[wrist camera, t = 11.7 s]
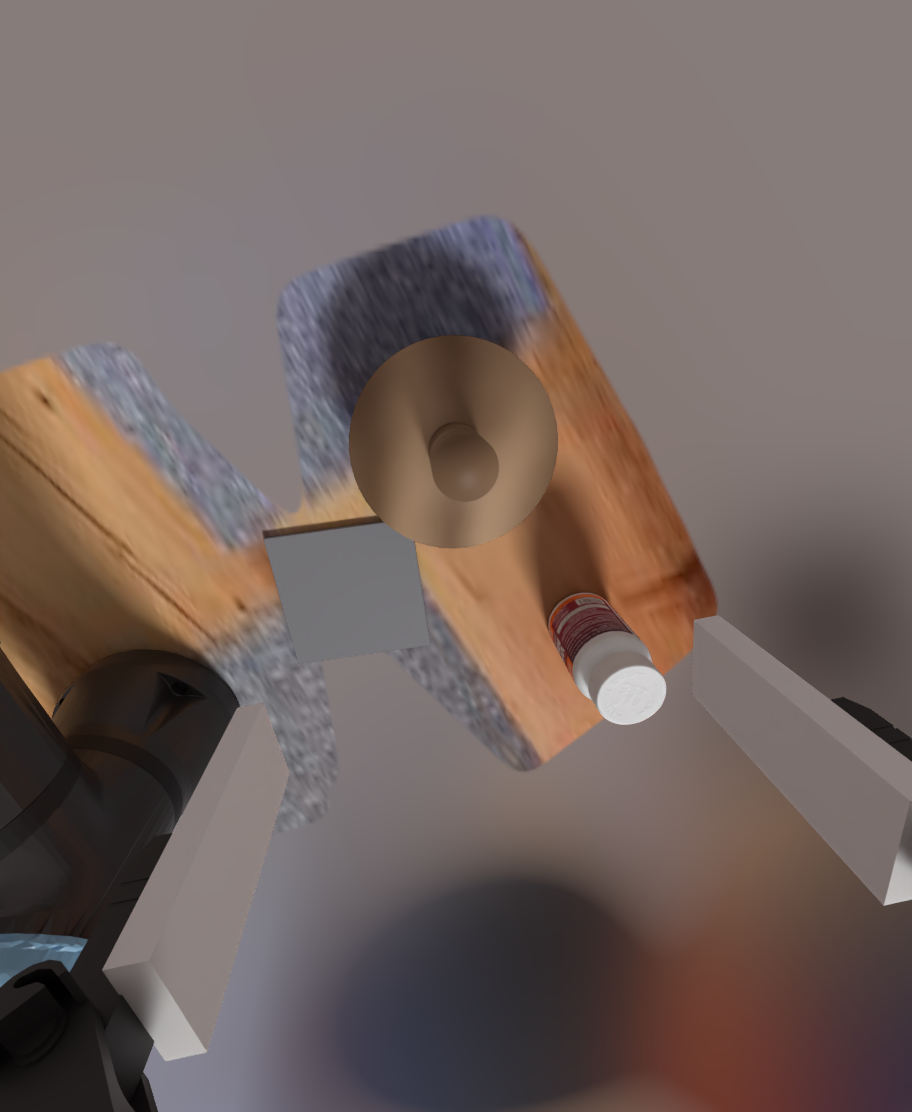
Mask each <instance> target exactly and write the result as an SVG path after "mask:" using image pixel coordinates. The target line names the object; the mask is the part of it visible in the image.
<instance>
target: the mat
mask: <svg viewBox="0 0 912 1112" xmlns="http://www.w3.org/2000/svg"><path fill="white" fill-rule="evenodd" d="M264 542H265V546H266V549H267V553H268V557H269V560H270V564H271V567H272V571H273V574H274V578H275V582H276V585H277V589H278V592H279V596H280V600H281V603H282V607H283V610H284V614H285V617H286V621H287V625H288V628H289V632H290V635H291V639H292V642H293V646H294V650H295V653H296V657H297V660H298V664H303V663H310V662H317V661H324V660H330V659H337V658H344V657H351V656H358V655H365V654H372V653H379V652H385V651H392V650H399V649H406V648H413V647H420V646H427V645H430V637H429V630H428V624H427V618H426V611H425V605H424V599H423V592H422V586H421V580H420V573H419V567H418V561H417V554H416V548H415V542H414V541H413V540H411V539H409V538H407V537H405V536H403V535H401V534H400V533H398V532H396V531H395V530H393V529H392V528H391V527H389V526H388V525H387V524H386V523H384V522H383V521H381V522H374V523H367V524H359V525H352V526H345V527H337V528H330V529H323V530H315V531H308V532H301V533H293V534H286V535H279V536H271V537H265V538H264Z"/></svg>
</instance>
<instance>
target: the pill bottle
mask: <svg viewBox="0 0 912 1112" xmlns="http://www.w3.org/2000/svg"><path fill="white" fill-rule="evenodd" d="M548 627H549V633H550V636H551V638H552V640H553V643H554V644H555V646H556V648H557V650H558V652H559V654H560V656H561V658H562V660H563V661H564V663H565V665H566V667H567V669H568V671H569V673H570V674H571V676H572V678H573V680H574V682H575V684H576V685H577V687H578V688H579V690H580V691H581V692H582V693H583V694H584V695H585V696H586V697H588V698H589V699H591V700H592V701H593V702H594V704H595V705H596V707H597V709H598V710H599V712H600V713H601V715H602V716H603V717H604V718H606V719H607V720H609V721H610V722H613V723H617V724H624V725H627V724H634V723H638V722H641V721H643V720H645V719H647V718H648V717H650V716H651V715H653V714H654V713H655V712H656V711H657V710H658V709H659V708H660V707H661V705H662V703H663V701H664V699H665V695H666V683H665V680H664V678H663V676H662V675H661V673H660V672H659V671H658V670H657V668H656V667H655V666H654V664H653V663H652V660H651V655H650V653H649V651H648V649H647V647H646V646H645V644H644V643H643V642H642V641H641V640H640V639H639V637H638V636H637V635H636V634H635V633H634V632H633V631H632V629H631V628H630V627H629V626H628V625H627V624H626V623H625V622H624V620H623V619H622V618H621V617H620V616H619V615H618V613H617V612H616V611H615V610H614V609H613V608H612V606H611V605H610V604H609V603H608V602H607V601H606V600H605V599H603V598H602V597H600V596H598V595H596V594H593V593H577V594H573V595H571V596H568V597H567V598H565V599H563V600H562V601H561V602H559V603H558V604H557V605H556V607H555V608H554V609H553V611H552V613H551V615H550V618H549V623H548Z"/></svg>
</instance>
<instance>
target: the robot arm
mask: <svg viewBox="0 0 912 1112" xmlns="http://www.w3.org/2000/svg"><path fill="white" fill-rule="evenodd" d="M0 644H1V642H0ZM692 695H693V696H694V697H695V698H696V699H697V700H698V701H699V702H700V703H701V704H702V706H703V707H704V708H705V709H706V710H707V711H708V712H709V713H710V714H711V715H712V716H713V718H714V719H715V720H716V721H717V722H718V723H719V724H720V725H721V726H722V728H723V729H724V730H725V731H726V732H727V733H728V734H729V735H730V736H731V738H732V739H733V740H734V741H735V742H736V743H737V744H738V745H739V746H740V747H741V749H742V750H743V751H744V752H745V753H746V754H747V755H748V756H749V757H750V759H751V760H752V761H753V762H754V763H755V764H756V765H757V766H758V767H759V768H760V769H761V771H762V772H763V773H764V774H765V775H766V776H767V777H768V778H769V779H770V780H771V782H772V783H773V784H774V785H775V786H776V787H777V788H778V789H779V790H780V792H781V793H782V794H783V795H784V796H785V797H786V798H787V799H788V800H789V802H790V803H791V804H792V805H793V806H794V807H795V808H796V809H797V810H798V811H799V813H801V815H802V816H803V817H804V818H805V819H806V820H807V821H808V822H809V824H810V825H811V826H812V827H813V828H814V829H815V830H816V831H817V832H818V833H819V835H820V836H821V837H822V838H823V839H824V840H825V841H826V842H827V843H828V845H829V846H830V847H831V848H832V849H833V850H834V851H835V852H836V853H837V854H838V855H839V857H840V858H841V859H842V860H843V861H844V862H845V863H846V864H847V865H848V866H849V868H850V869H851V870H852V871H853V872H854V873H855V874H856V875H857V876H858V877H859V879H860V880H861V881H862V882H863V883H864V884H865V885H866V886H867V888H868V889H869V890H870V891H871V892H872V893H873V894H874V895H875V896H876V897H877V898H878V900H879V901H880V902H881V903H882V904H883V905H888V904H892V903H897V902H901V901H907V900H911V899H912V739H911V738H910V737H909V736H907V735H906V734H905V733H903V732H902V731H900V730H899V729H898V728H896V729H895V728H894V727H893V725H892V724H891V723H889V722H888V721H886V720H885V719H884V718H882V717H881V716H879V715H878V714H877V713H875V712H874V711H872V710H871V709H869V708H866V707H864V706H862V705H860V704H858V703H855V702H853V701H851V700H848V699H846V698H844V697H842V698H837V699H832V700H829V699H828V698H826V697H825V696H824V695H823V694H821V693H820V692H819V691H818V690H816V689H815V688H813V687H812V686H811V685H810V684H808V683H807V682H806V681H804V680H803V679H802V678H800V677H799V676H798V675H796V674H795V673H794V672H792V671H791V670H790V669H789V668H787V667H786V666H785V665H783V664H782V663H780V662H779V661H778V660H777V659H775V658H774V657H773V656H771V655H770V654H769V653H767V652H766V651H765V650H763V649H762V648H761V647H759V646H758V645H757V644H756V643H754V642H753V641H752V640H750V639H749V638H748V637H746V636H745V635H744V634H742V633H741V632H740V631H738V630H737V629H736V628H734V627H733V626H732V625H730V624H729V623H728V622H726V621H725V620H724V619H722V618H721V617H720V616H713V617H708V618H702V619H697V620H694V643H693V681H692ZM289 774H290V773H289V770H288V768H287V765H286V762H285V760H284V757H283V754H282V752H281V749H280V746H279V744H278V741H277V738H276V736H275V733H274V730H273V727H272V725H271V722H270V719H269V717H268V714H267V711H266V709H265V706H264V703H259V704H254V705H249V706H244V707H239V704H238V702H237V700H236V698H235V697H234V695H233V693H232V692H231V691H230V689H229V688H228V687H227V686H226V684H225V683H224V682H223V681H222V680H221V679H220V678H218V677H217V676H216V675H215V674H214V673H212V672H211V671H210V670H208V669H207V668H205V667H203V666H202V665H200V664H198V663H196V662H194V661H192V660H190V659H187V658H184V657H182V656H178V655H175V654H171V653H167V652H161V651H152V650H135V651H127V652H122V653H118V654H114V655H111V656H108V657H106V658H104V659H102V660H100V661H98V662H96V663H95V664H93V665H92V666H90V667H89V668H88V669H87V670H86V671H85V672H83V673H82V674H81V675H80V676H79V677H78V678H77V679H76V680H75V681H73V682H72V683H71V684H70V685H69V686H68V687H67V689H66V690H65V691H64V693H63V694H62V695H61V697H60V699H59V700H58V702H57V705H56V707H55V709H54V712H53V716H52V719H51V718H50V717H49V715H48V714H47V713H46V711H45V710H44V708H43V707H42V706H41V704H40V703H39V701H38V700H37V699H36V697H35V696H34V695H33V693H32V692H31V690H30V689H29V688H28V686H27V685H26V684H25V682H24V681H23V679H22V678H21V677H20V675H19V674H18V672H17V671H16V669H15V668H14V667H13V665H12V664H11V662H10V661H9V659H8V658H7V656H6V655H5V653H4V652H3V651H2V649H1V648H0V1112H158V1110H157V1107H156V1103H155V1100H154V1096H153V1093H152V1090H151V1086H150V1083H149V1080H148V1078H147V1077H146V1076H145V1074H144V1073H143V1070H144V1068H145V1065H146V1062H147V1060H148V1057H149V1054H150V1052H151V1049H152V1046H153V1044H154V1045H155V1047H156V1048H157V1050H158V1051H159V1053H160V1054H161V1055H162V1057H163V1058H164V1060H165V1061H169V1060H173V1059H178V1058H183V1057H188V1056H192V1055H196V1054H202V1053H206V1052H207V1051H208V1048H209V1044H210V1041H211V1038H212V1034H213V1031H214V1028H215V1024H216V1021H217V1017H218V1014H219V1011H220V1007H221V1004H222V1001H223V997H224V994H225V990H226V987H227V984H228V980H229V977H230V974H231V970H232V967H233V963H234V960H235V956H236V953H237V950H238V947H239V943H240V940H241V936H242V933H243V930H244V926H245V923H246V919H247V916H248V912H249V909H250V906H251V903H252V899H253V896H254V892H255V889H256V885H257V882H258V879H259V875H260V872H261V869H262V865H263V862H264V859H265V855H266V852H267V849H268V845H269V842H270V838H271V835H272V832H273V828H274V825H275V822H276V818H277V815H278V811H279V808H280V805H281V801H282V798H283V795H284V791H285V788H286V784H287V781H288V778H289ZM181 815H182V816H181ZM180 816H181V818H180ZM179 818H180V820H179ZM178 820H179V822H178ZM177 822H178V824H177ZM176 824H177V826H176V828H175V830H174V832H173V833H172V831H173V829H174V827H175V825H176Z"/></svg>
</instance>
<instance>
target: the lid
mask: <svg viewBox="0 0 912 1112" xmlns="http://www.w3.org/2000/svg"><path fill="white" fill-rule="evenodd" d="M557 451H558V433H557V423H556V419H555V414H554V410H553V407H552V404H551V402H550V399H549V397H548V395H547V393H546V391H545V389H544V387H543V385H542V383H541V382H540V381H539V379H538V378H537V377H536V375H535V374H534V372H533V371H532V370H531V369H530V368H529V367H528V366H527V365H526V364H525V363H524V362H523V361H522V360H521V359H519V358H518V357H517V356H515V355H514V354H513V353H512V352H510V351H508V350H506V349H505V348H503V347H501V346H499V345H497V344H495V343H492V342H490V341H487V340H484V339H480V338H476V337H472V336H461V335H448V336H438V337H433V338H428V339H425V340H422V341H419V342H416V343H414V344H412V345H410V346H408V347H406V348H404V349H402V350H400V351H399V352H397V353H396V354H394V355H393V356H392V357H390V358H389V359H388V360H387V361H386V362H384V363H383V364H382V365H381V366H380V367H379V368H378V369H377V370H376V372H375V373H374V374H373V375H372V377H371V378H370V379H369V380H368V382H367V384H366V385H365V387H364V389H363V390H362V392H361V394H360V396H359V398H358V401H357V403H356V406H355V408H354V412H353V416H352V419H351V425H350V433H349V453H350V461H351V466H352V470H353V473H354V477H355V480H356V482H357V485H358V487H359V489H360V491H361V493H362V495H363V497H364V498H365V500H366V502H367V503H368V505H369V506H370V507H371V509H372V510H373V511H374V512H375V514H376V515H377V516H378V517H379V518H380V519H381V520H382V521H383V522H384V523H386V524H387V525H388V526H389V527H391V528H392V529H393V530H395V531H396V532H398V533H400V534H401V535H403V536H405V537H407V538H409V539H411V540H413V541H416V542H418V543H422V544H425V545H428V546H434V547H439V548H466V547H471V546H476V545H480V544H483V543H486V542H489V541H492V540H494V539H496V538H498V537H500V536H502V535H504V534H506V533H507V532H509V531H510V530H512V529H513V528H515V527H516V526H517V525H518V524H520V523H521V522H522V521H523V520H524V519H525V518H526V517H527V516H528V515H529V514H530V513H531V512H532V511H533V509H534V508H535V507H536V505H537V504H538V503H539V501H540V500H541V498H542V496H543V495H544V493H545V491H546V489H547V487H548V485H549V482H550V480H551V478H552V474H553V471H554V467H555V464H556V457H557Z"/></svg>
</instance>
